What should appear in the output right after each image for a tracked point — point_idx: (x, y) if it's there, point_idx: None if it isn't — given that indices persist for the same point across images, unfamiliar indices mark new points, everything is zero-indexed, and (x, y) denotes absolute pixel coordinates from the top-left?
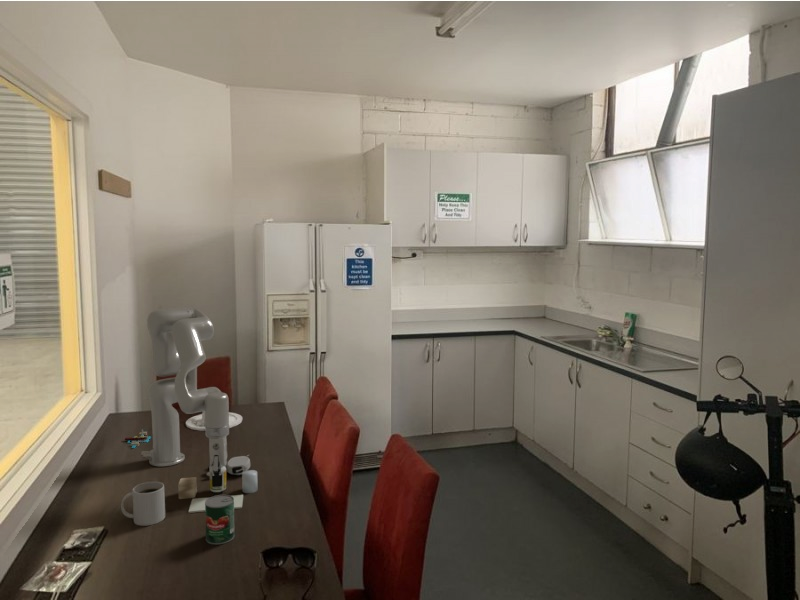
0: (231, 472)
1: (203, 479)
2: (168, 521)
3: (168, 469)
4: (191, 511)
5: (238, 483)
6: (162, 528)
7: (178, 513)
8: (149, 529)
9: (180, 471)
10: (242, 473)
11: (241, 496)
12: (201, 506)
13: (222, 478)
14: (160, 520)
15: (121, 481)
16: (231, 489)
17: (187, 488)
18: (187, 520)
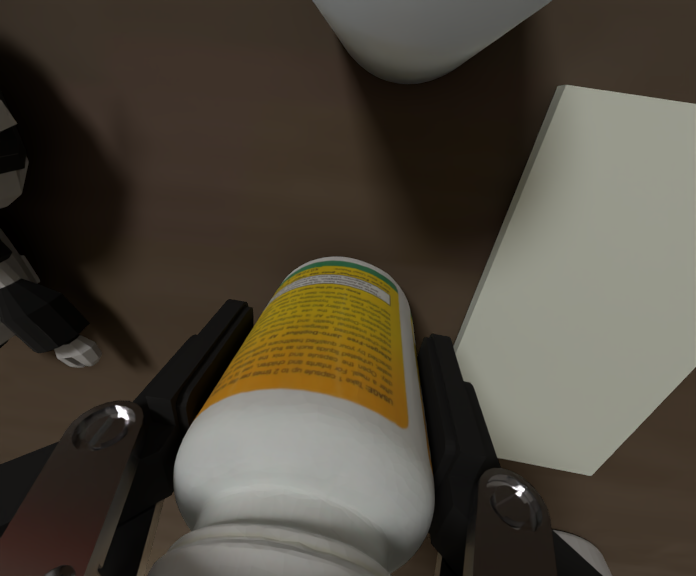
0: (12, 179)
1: (119, 355)
2: (616, 527)
3: (14, 458)
4: (600, 464)
5: (201, 114)
6: (675, 548)
7: (553, 493)
8: (638, 571)
9: (26, 428)
10: (403, 30)
11: (606, 113)
12: (572, 422)
13: (412, 374)
14: (597, 551)
15: (149, 557)
16: (329, 197)
17: None
18: (685, 480)
